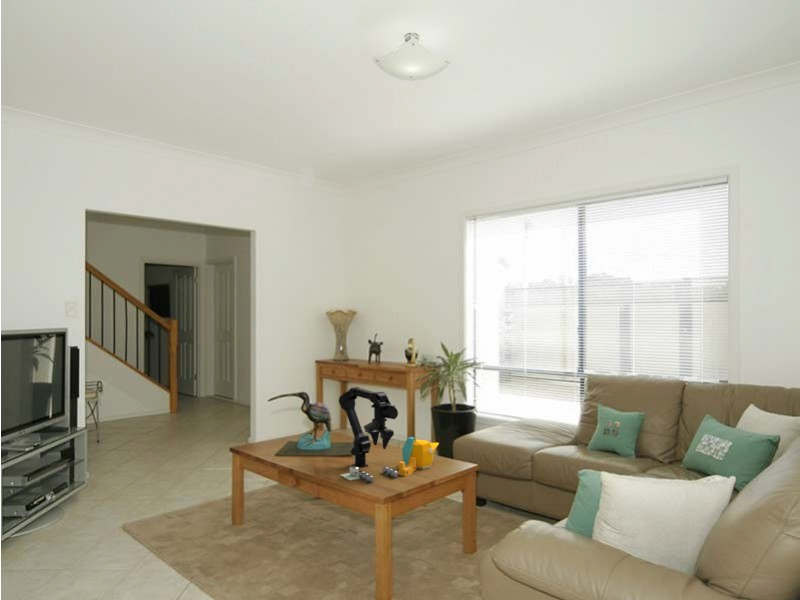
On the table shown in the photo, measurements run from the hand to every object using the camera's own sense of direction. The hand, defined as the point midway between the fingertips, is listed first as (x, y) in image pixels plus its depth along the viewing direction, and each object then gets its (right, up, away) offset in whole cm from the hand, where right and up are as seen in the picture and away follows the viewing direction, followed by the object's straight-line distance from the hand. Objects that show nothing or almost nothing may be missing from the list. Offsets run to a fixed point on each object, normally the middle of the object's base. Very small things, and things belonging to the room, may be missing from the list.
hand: (379, 447), depth 288 cm
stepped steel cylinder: (-12, -11, -11) cm, 20 cm away
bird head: (+22, -12, +10) cm, 27 cm away
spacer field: (-1, -12, -12) cm, 17 cm away
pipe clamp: (+15, -12, -4) cm, 20 cm away
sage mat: (-12, -12, -11) cm, 20 cm away
